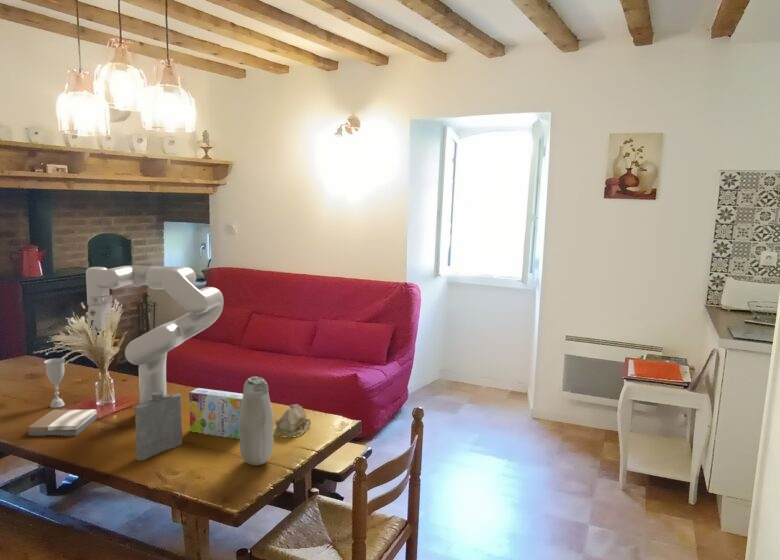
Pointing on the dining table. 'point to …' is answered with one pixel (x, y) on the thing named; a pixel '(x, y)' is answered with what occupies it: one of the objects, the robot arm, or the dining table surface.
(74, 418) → the pale plank
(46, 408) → the dining table surface
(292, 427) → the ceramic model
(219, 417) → the snack box
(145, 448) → the hip flask
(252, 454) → the pale grey bottle
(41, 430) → the floor sample board
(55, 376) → the chalice
